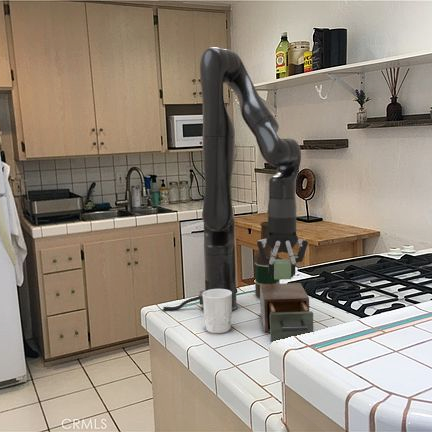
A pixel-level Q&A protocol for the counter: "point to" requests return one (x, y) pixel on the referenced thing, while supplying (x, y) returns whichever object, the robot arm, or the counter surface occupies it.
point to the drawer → (289, 319)
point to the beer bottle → (263, 263)
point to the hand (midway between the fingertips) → (281, 276)
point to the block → (282, 269)
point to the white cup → (217, 310)
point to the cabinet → (280, 297)
